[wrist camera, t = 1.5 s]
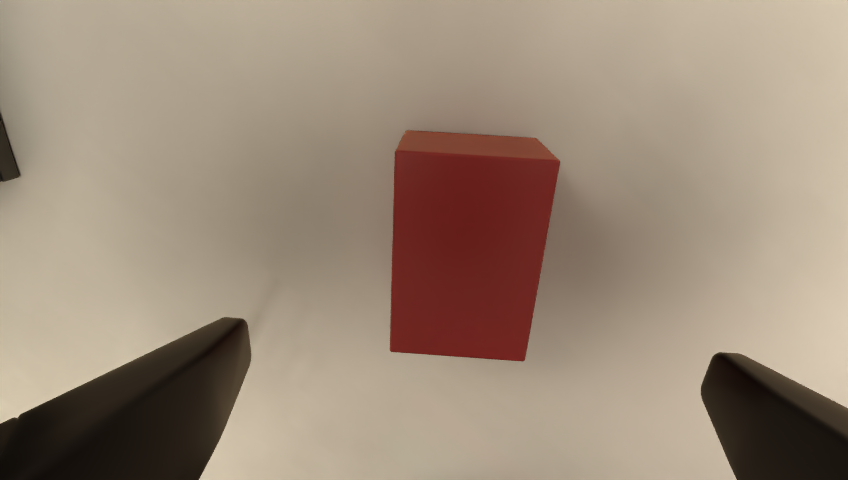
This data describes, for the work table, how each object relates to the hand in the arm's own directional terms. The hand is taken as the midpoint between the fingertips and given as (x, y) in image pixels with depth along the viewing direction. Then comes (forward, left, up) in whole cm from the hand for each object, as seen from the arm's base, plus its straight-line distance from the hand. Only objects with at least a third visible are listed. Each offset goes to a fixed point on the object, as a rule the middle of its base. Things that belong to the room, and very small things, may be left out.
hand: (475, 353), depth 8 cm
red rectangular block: (0, 0, -7) cm, 7 cm away
